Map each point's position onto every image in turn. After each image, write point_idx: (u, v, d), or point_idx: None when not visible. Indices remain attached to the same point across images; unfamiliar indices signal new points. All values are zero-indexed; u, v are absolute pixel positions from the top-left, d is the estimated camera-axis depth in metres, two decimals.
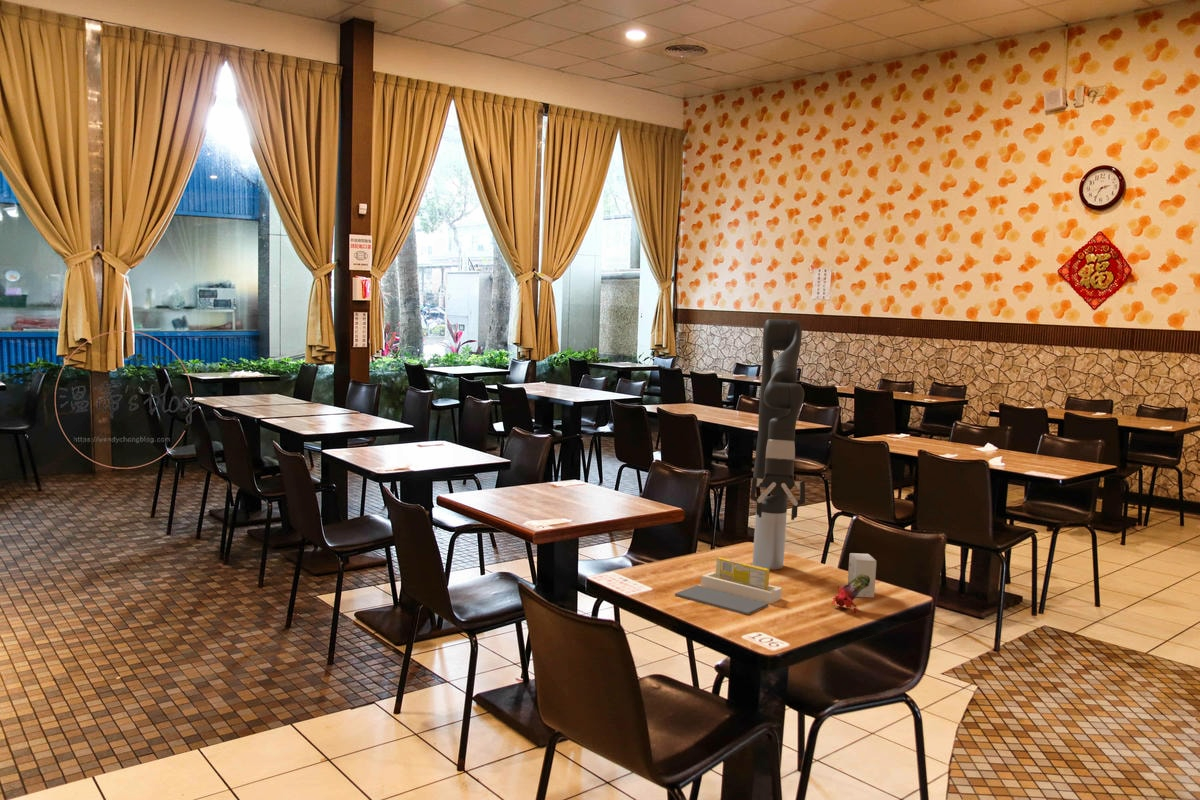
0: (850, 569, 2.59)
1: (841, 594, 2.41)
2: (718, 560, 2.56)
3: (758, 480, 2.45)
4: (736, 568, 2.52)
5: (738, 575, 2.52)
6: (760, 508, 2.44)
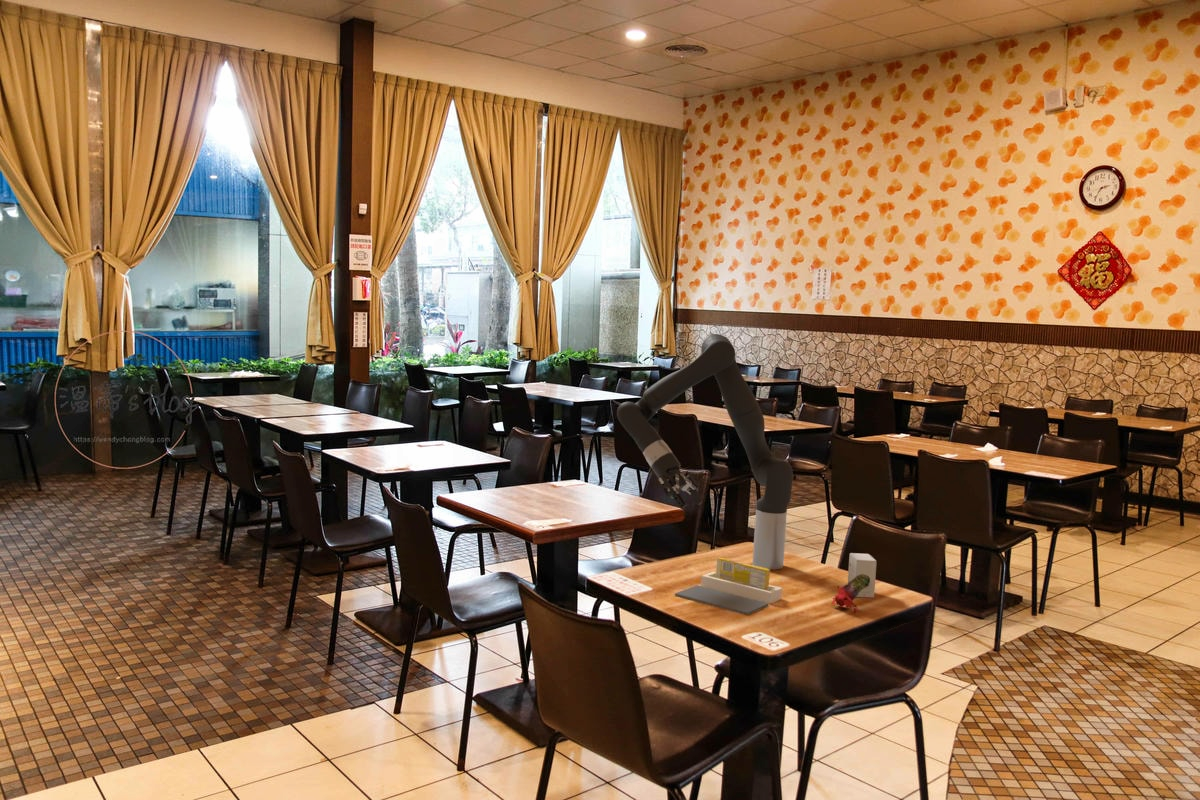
0: (850, 569, 2.59)
1: (841, 594, 2.41)
2: (718, 560, 2.56)
3: None
4: (737, 568, 2.52)
5: (738, 575, 2.52)
6: None
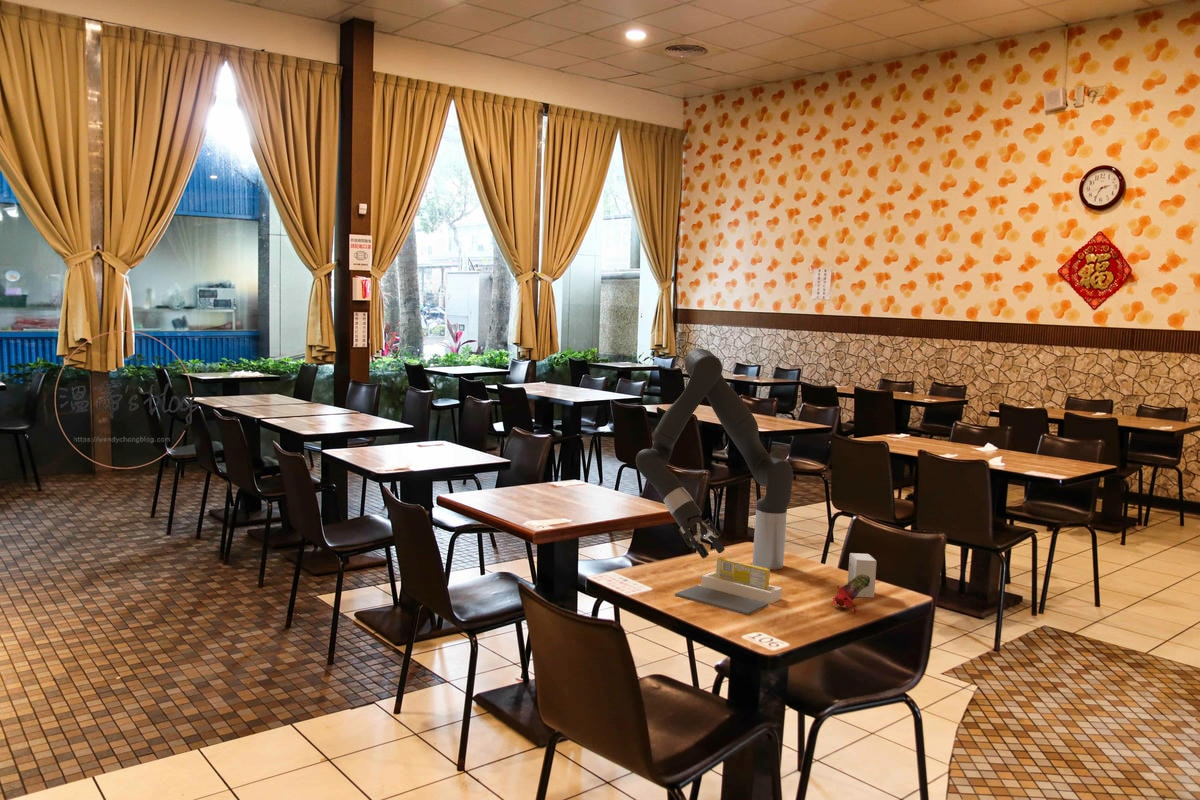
0: (850, 569, 2.59)
1: (841, 594, 2.41)
2: (718, 560, 2.56)
3: None
4: (737, 568, 2.52)
5: (738, 575, 2.52)
6: None
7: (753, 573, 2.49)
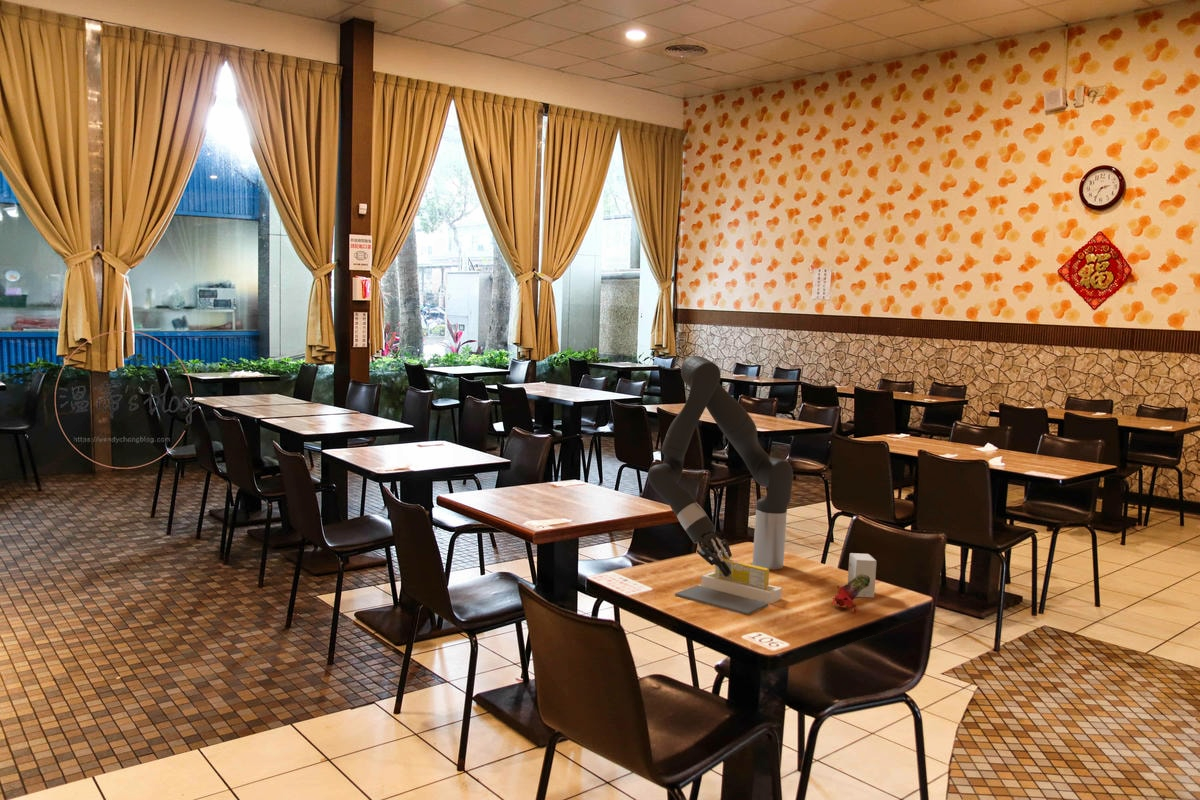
0: (850, 569, 2.59)
1: (841, 594, 2.41)
2: None
3: None
4: (736, 567, 2.52)
5: (737, 575, 2.52)
6: None
7: (752, 573, 2.48)
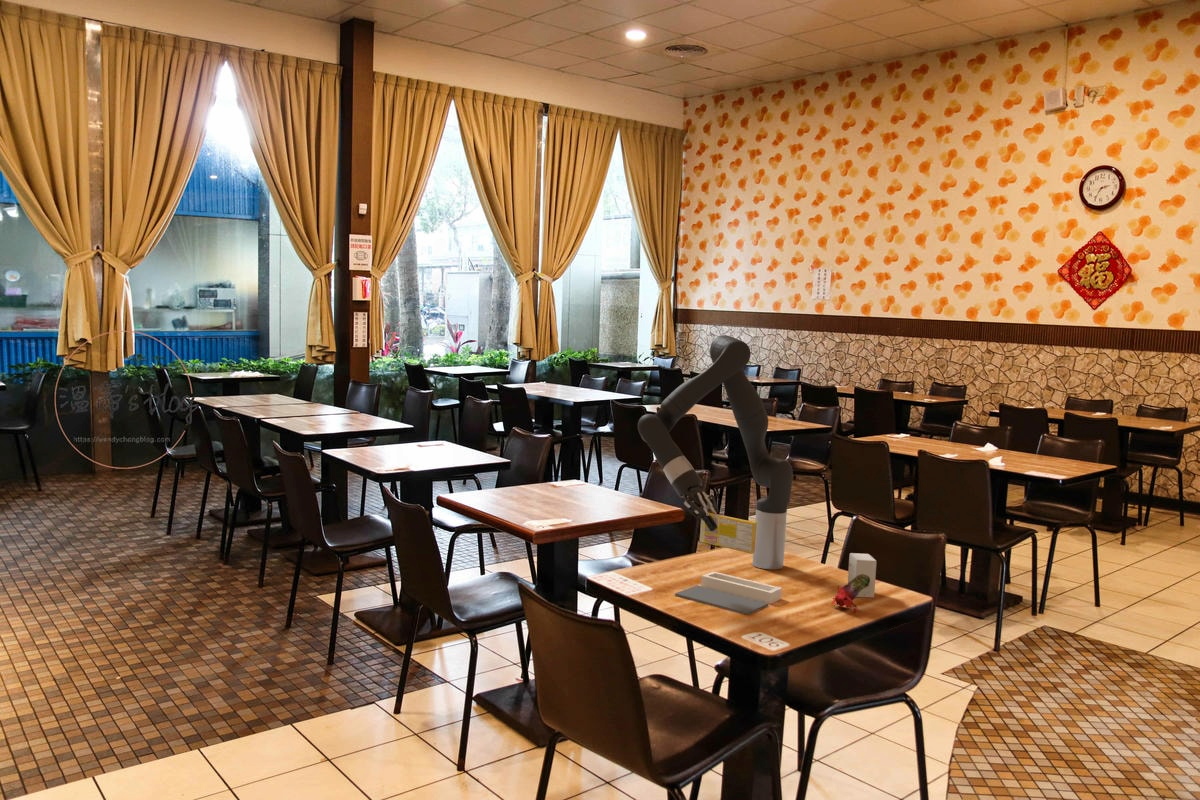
0: (850, 569, 2.59)
1: (841, 594, 2.41)
2: None
3: None
4: (723, 522, 2.45)
5: (724, 529, 2.44)
6: None
7: (739, 527, 2.41)
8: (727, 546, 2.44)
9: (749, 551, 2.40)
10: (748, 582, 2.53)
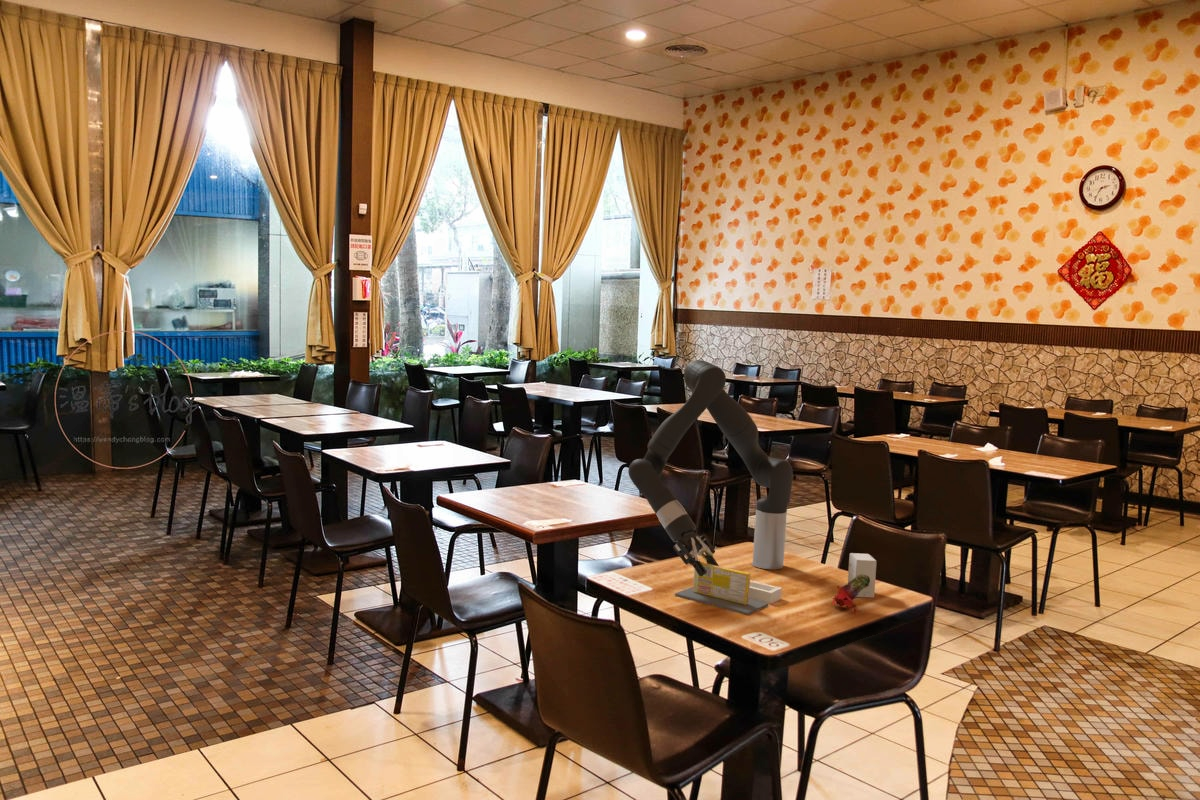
0: (850, 569, 2.59)
1: (841, 594, 2.41)
2: None
3: None
4: (716, 572, 2.44)
5: (717, 580, 2.44)
6: None
7: (733, 577, 2.41)
8: (720, 597, 2.43)
9: (742, 602, 2.39)
10: None
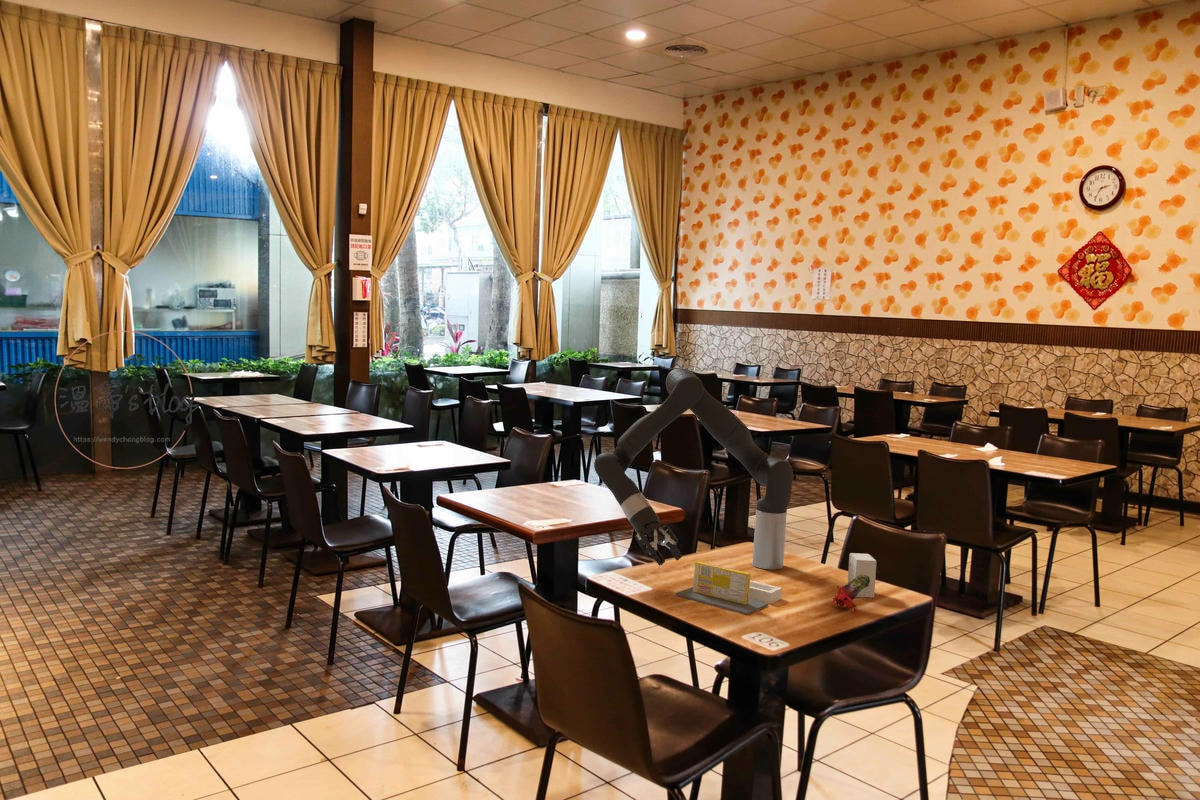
0: (850, 569, 2.59)
1: (841, 594, 2.41)
2: (696, 565, 2.48)
3: None
4: (716, 572, 2.44)
5: (717, 580, 2.44)
6: None
7: (733, 577, 2.41)
8: (720, 597, 2.43)
9: (742, 602, 2.39)
10: None
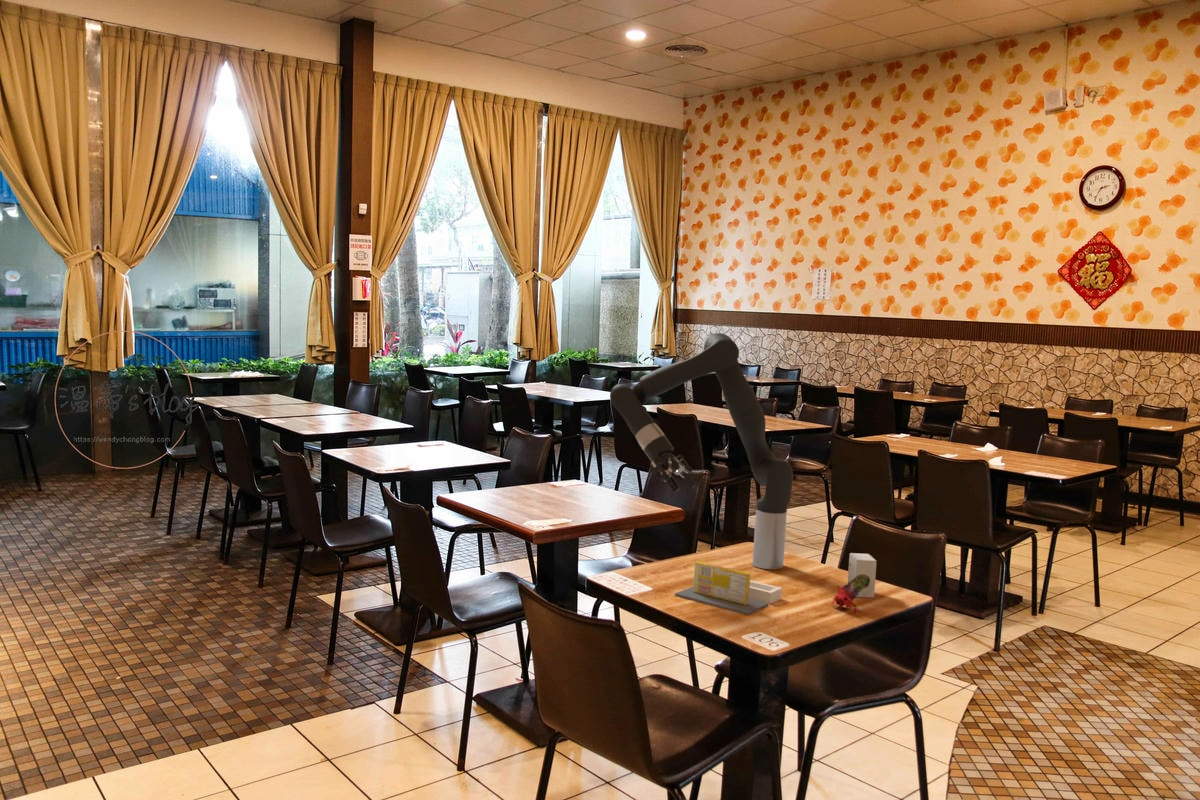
0: (850, 569, 2.59)
1: (841, 594, 2.41)
2: (696, 565, 2.48)
3: None
4: (716, 572, 2.44)
5: (717, 580, 2.44)
6: None
7: (733, 577, 2.41)
8: (720, 597, 2.43)
9: (742, 602, 2.39)
10: None
